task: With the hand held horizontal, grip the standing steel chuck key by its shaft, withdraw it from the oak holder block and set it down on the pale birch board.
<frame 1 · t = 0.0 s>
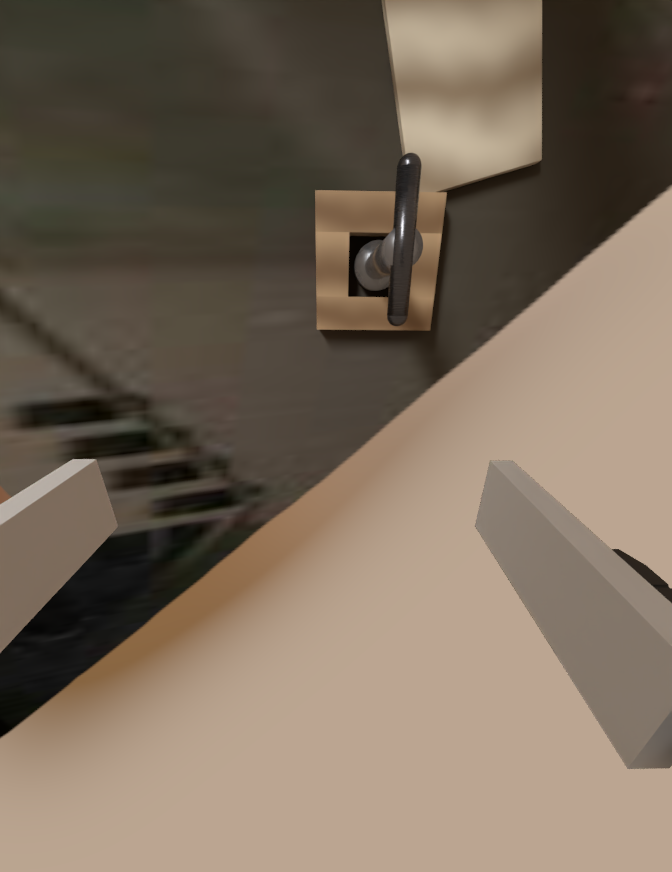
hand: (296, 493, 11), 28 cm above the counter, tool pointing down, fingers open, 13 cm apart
birch board: (464, 87, 28), on the counter
chuck key: (385, 259, 26), in the holder block
holder block: (374, 267, 33), on the counter
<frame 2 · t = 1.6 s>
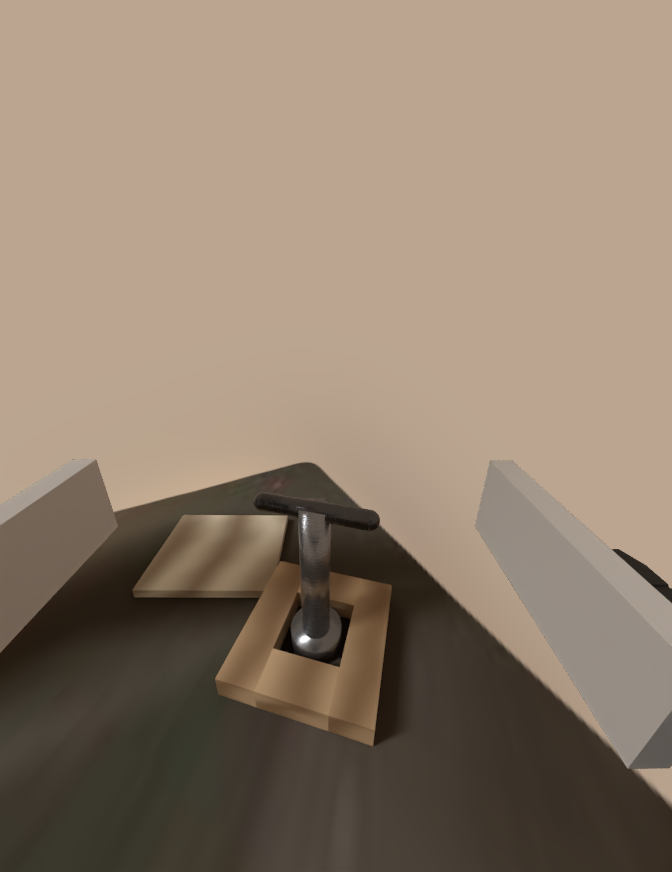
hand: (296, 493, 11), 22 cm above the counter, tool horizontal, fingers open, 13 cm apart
birch board: (222, 553, 38), on the counter
chuck key: (315, 579, 26), in the holder block
holder block: (316, 640, 29), on the counter
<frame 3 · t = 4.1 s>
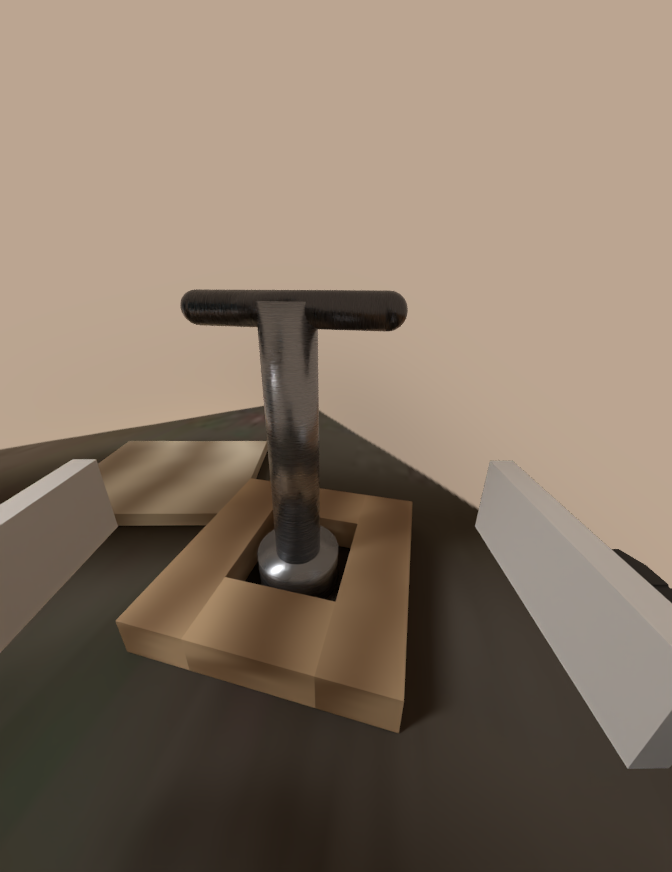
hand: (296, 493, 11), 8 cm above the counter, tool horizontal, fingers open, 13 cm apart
birch board: (174, 480, 28), on the counter
chuck key: (294, 459, 15), in the holder block
holder block: (299, 574, 18), on the counter
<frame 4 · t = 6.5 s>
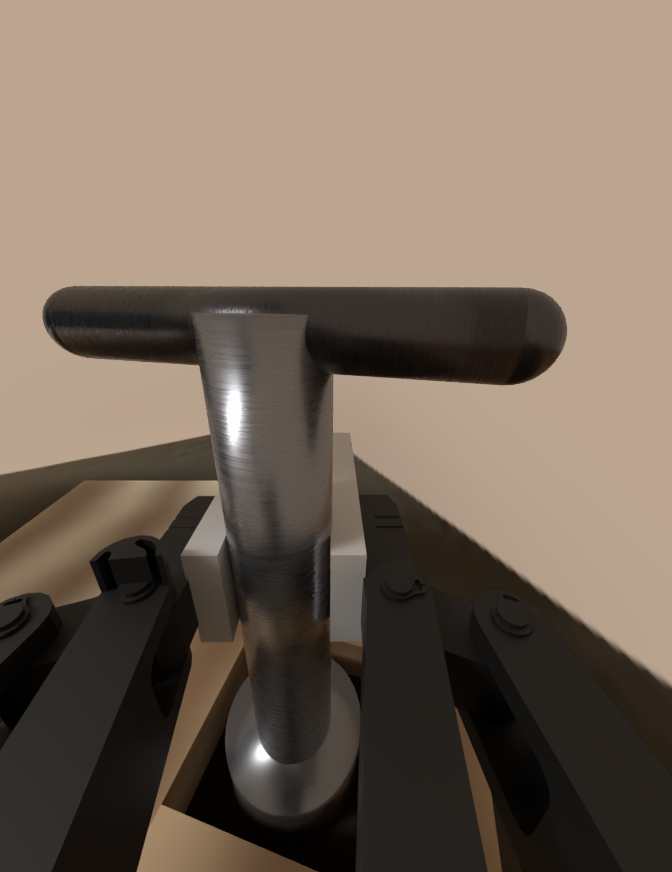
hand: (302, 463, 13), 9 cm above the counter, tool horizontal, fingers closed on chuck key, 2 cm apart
birch board: (132, 542, 21), on the counter
chuck key: (286, 598, 8), in the holder block, touching gripper
holder block: (297, 747, 11), on the counter
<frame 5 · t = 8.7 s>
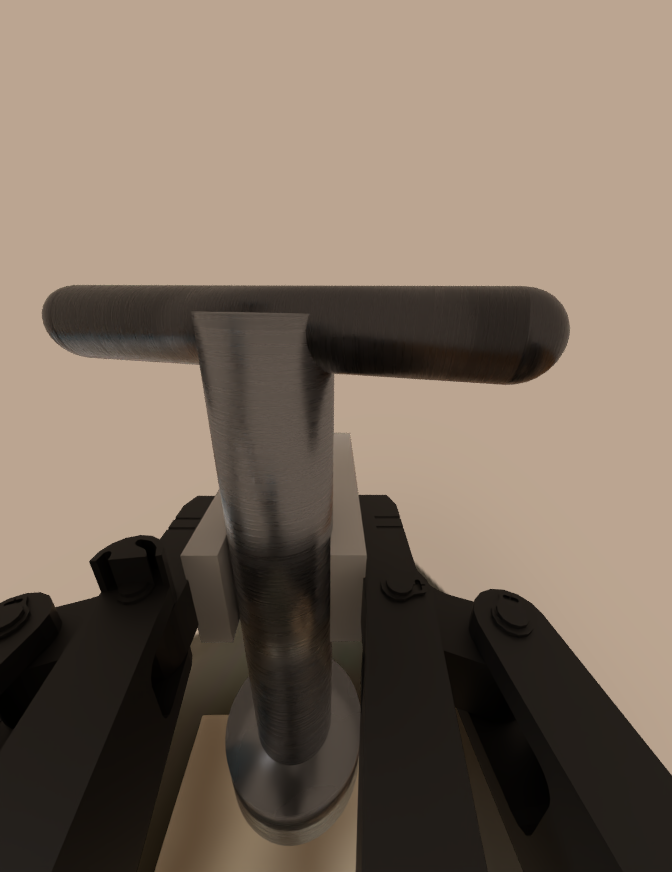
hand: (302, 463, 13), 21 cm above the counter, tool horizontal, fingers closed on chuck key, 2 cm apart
birch board: (297, 861, 17), on the counter
chuck key: (286, 599, 8), point 20 cm above the counter, touching gripper
when the fingers open (11 cm above the counter, at t = 10.8 s): chuck key drops 2 cm, resting on birch board.
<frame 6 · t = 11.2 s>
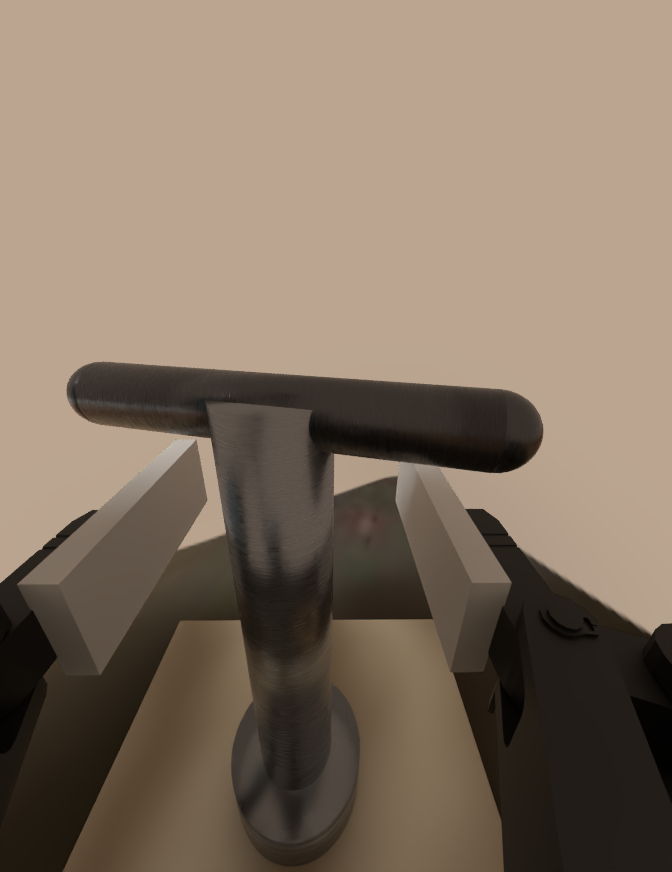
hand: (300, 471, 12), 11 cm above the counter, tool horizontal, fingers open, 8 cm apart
birch board: (299, 781, 12), on the counter
chuck key: (289, 638, 9), on the birch board, point 8 cm above the counter
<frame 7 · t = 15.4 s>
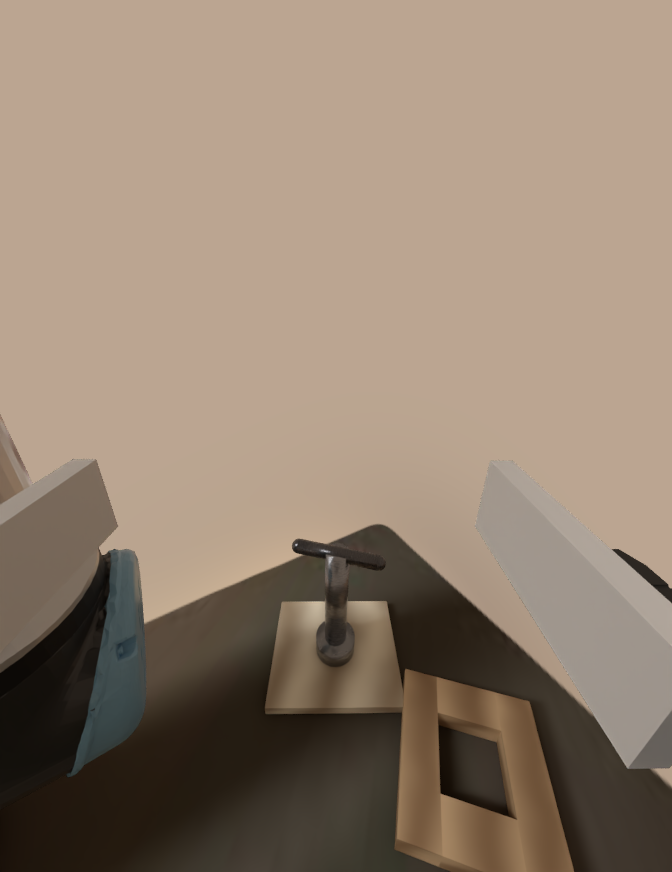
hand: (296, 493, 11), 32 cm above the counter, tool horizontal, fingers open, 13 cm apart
birch board: (334, 652, 37), on the counter
chuck key: (336, 602, 34), on the birch board, point 8 cm above the counter
holder block: (468, 771, 28), on the counter
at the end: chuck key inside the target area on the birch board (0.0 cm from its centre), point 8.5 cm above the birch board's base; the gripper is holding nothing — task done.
